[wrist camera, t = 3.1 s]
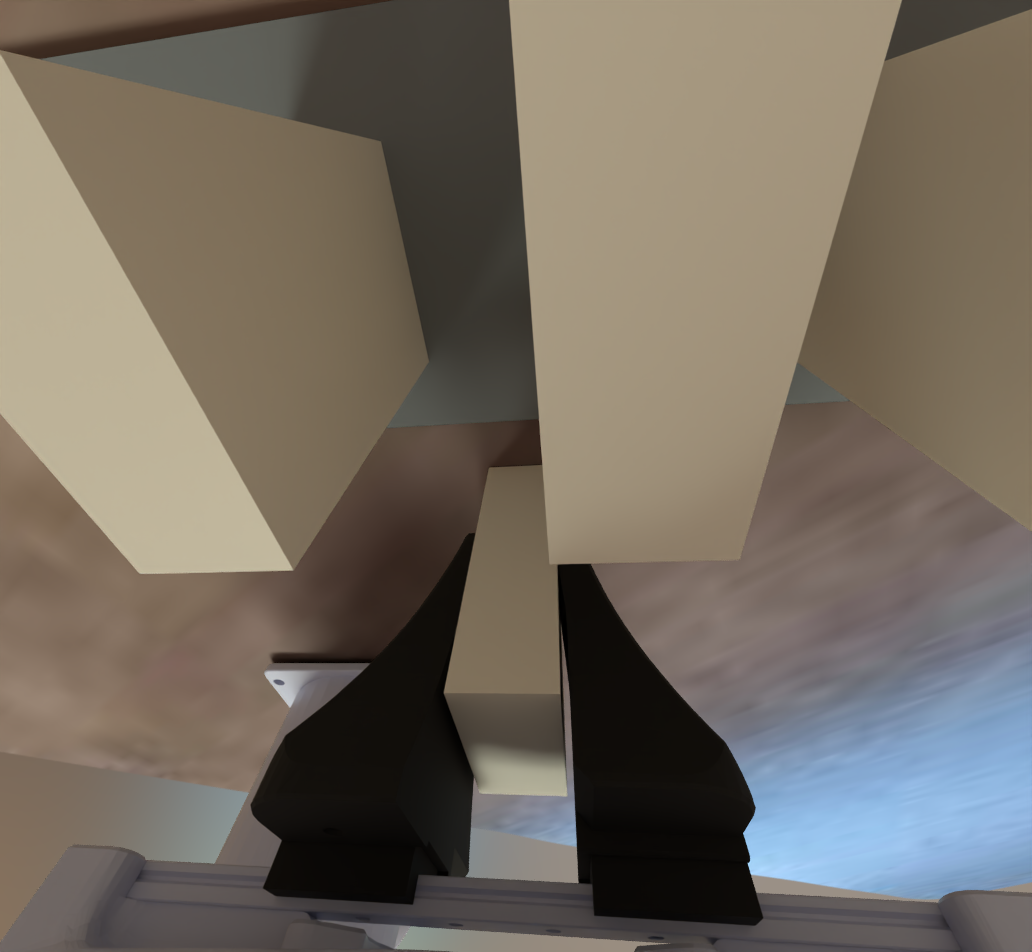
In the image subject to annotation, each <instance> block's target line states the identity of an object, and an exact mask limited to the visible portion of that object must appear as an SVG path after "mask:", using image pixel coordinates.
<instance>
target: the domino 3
mask: <svg viewBox="0 0 1032 952" xmlns="http://www.w3.org/2000/svg"><path fill="white" fill-rule="evenodd" d="M901 2H902V0H509V7H510V21H511V35H512V49H513V63H514V77H515V91H516V105H517V119H518V132H519V146H520V160H521V174H522V188H523V202H524V216H525V230H526V244H527V258H528V272H529V286H530V299H531V313H532V327H533V341H534V355H535V369H536V383H537V397H538V411H539V425H540V439H541V453H542V466H543V480H544V494H545V508H546V522H547V536H548V550H549V564H591V563H634V562H676V561H719V560H740V558H741V554H742V551H743V547H744V544H745V540H746V537H747V533H748V530H749V526H750V523H751V520H752V516H753V513H754V509H755V506H756V502H757V499H758V495H759V492H760V489H761V485H762V482H763V478H764V475H765V471H766V468H767V464H768V461H769V457H770V454H771V451H772V447H773V444H774V440H775V437H776V433H777V430H778V426H779V423H780V419H781V416H782V413H783V409H784V406H785V402H786V399H787V395H788V392H789V388H790V385H791V381H792V378H793V375H794V371H795V368H796V364H797V361H798V357H799V354H800V350H801V347H802V344H803V340H804V337H805V333H806V330H807V326H808V323H809V319H810V316H811V312H812V309H813V306H814V302H815V299H816V295H817V292H818V288H819V285H820V281H821V278H822V274H823V271H824V268H825V264H826V261H827V257H828V254H829V250H830V247H831V243H832V240H833V236H834V233H835V230H836V226H837V223H838V219H839V216H840V212H841V209H842V205H843V202H844V199H845V195H846V192H847V188H848V185H849V181H850V178H851V174H852V171H853V167H854V164H855V161H856V157H857V154H858V150H859V147H860V143H861V140H862V136H863V133H864V129H865V126H866V123H867V119H868V116H869V112H870V109H871V105H872V102H873V98H874V95H875V91H876V88H877V85H878V81H879V78H880V74H881V71H882V67H883V64H884V60H885V57H886V53H887V50H888V47H889V43H890V40H891V36H892V33H893V29H894V26H895V22H896V19H897V16H898V12H899V9H900V5H901Z"/></svg>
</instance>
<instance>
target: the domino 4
mask: <svg viewBox="0 0 1032 952" xmlns="http://www.w3.org/2000/svg"><path fill="white" fill-rule="evenodd" d="M797 363H799V364H800V365H802V366H803V367H804V368H806V369H807V370H808V371H810V372H811V373H813V374H814V375H815V376H817V377H818V378H820V379H821V380H822V381H824V382H825V383H826V384H828V385H829V386H831V387H832V388H833V389H835V390H836V391H838V392H839V393H840V394H842V395H843V396H844V397H846V398H847V399H849V400H850V401H851V402H853V403H854V404H856V405H857V406H858V407H860V408H861V409H862V410H864V411H865V412H867V413H868V414H869V415H871V416H872V417H874V418H875V419H876V420H878V421H879V422H880V423H882V424H883V425H885V426H886V427H887V428H889V429H890V430H892V431H893V432H894V433H896V434H897V435H898V436H900V437H901V438H903V439H904V440H905V441H907V442H908V443H910V444H911V445H912V446H914V447H915V448H916V449H918V450H919V451H921V452H922V453H923V454H925V455H926V456H928V457H929V458H930V459H932V460H933V461H934V462H936V463H937V464H939V465H940V466H941V467H943V468H944V469H946V470H947V471H948V472H950V473H951V474H952V475H954V476H955V477H957V478H958V479H959V480H961V481H962V482H964V483H965V484H966V485H968V486H969V487H970V488H972V489H973V490H975V491H976V492H977V493H979V494H980V495H982V496H983V497H984V498H986V499H987V500H988V501H990V502H991V503H993V504H994V505H995V506H997V507H998V508H1000V509H1001V510H1002V511H1004V512H1005V513H1006V514H1008V515H1009V516H1011V517H1012V518H1013V519H1015V520H1016V521H1018V522H1019V523H1020V524H1022V525H1023V526H1024V527H1026V528H1027V529H1029V530H1030V531H1031V532H1032V9H1030V10H1027V11H1025V12H1022V13H1019V14H1016V15H1013V16H1011V17H1008V18H1005V19H1002V20H999V21H996V22H994V23H991V24H988V25H985V26H982V27H979V28H977V29H974V30H971V31H968V32H965V33H963V34H960V35H957V36H954V37H951V38H948V39H946V40H943V41H940V42H937V43H934V44H932V45H929V46H926V47H923V48H920V49H917V50H915V51H912V52H909V53H906V54H903V55H900V56H898V57H895V58H892V59H889V60H886V61H884V64H883V67H882V71H881V74H880V78H879V81H878V85H877V88H876V91H875V95H874V98H873V102H872V105H871V109H870V112H869V116H868V119H867V123H866V126H865V129H864V133H863V136H862V140H861V143H860V147H859V150H858V154H857V157H856V161H855V164H854V167H853V171H852V174H851V178H850V181H849V185H848V188H847V192H846V195H845V199H844V202H843V205H842V209H841V212H840V216H839V219H838V223H837V226H836V230H835V233H834V236H833V240H832V243H831V247H830V250H829V254H828V257H827V261H826V264H825V268H824V271H823V274H822V278H821V281H820V285H819V288H818V292H817V295H816V299H815V302H814V306H813V309H812V312H811V316H810V319H809V323H808V326H807V330H806V333H805V337H804V340H803V344H802V347H801V350H800V354H799V357H798V361H797Z"/></svg>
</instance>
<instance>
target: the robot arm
mask: <svg viewBox="0 0 1032 952" xmlns="http://www.w3.org/2000/svg"><path fill="white" fill-rule="evenodd" d="M475 534H476V533H469V534H468V535H467V536H466V537H465V539H464V541H463V543H462V545H461V546H460V548H459V550H458V552H457V553H456V555H455V557H454V558H453V560H452V562H451V563H450V565H449V567H448V568H447V570H446V571H445V573H444V574H443V576H442V577H441V579H440V580H439V582H438V583H437V585H436V586H435V588H434V589H433V591H432V592H431V593H430V595H429V596H428V597H427V599H426V600H425V601H424V603H423V604H422V605H421V607H420V608H419V609H418V611H417V612H416V613H415V615H414V616H413V617H412V618H411V620H410V621H409V622H408V623H407V624H406V626H405V627H404V628H403V629H402V630H401V631H400V633H399V634H398V635H397V636H396V637H395V638H394V639H393V640H392V642H391V643H390V644H389V645H388V646H387V647H386V648H385V649H384V650H383V651H382V652H381V653H380V654H379V655H378V656H377V657H376V658H375V659H374V660H373V661H372V662H371V663H272V664H270V665H268V667H267V669H266V670H265V672H264V674H265V676H266V678H267V679H268V680H269V681H270V683H271V684H272V685H273V687H274V688H275V689H276V690H277V692H278V693H279V694H280V696H281V697H282V698H283V699H284V701H285V702H286V703H287V704H288V706H289V707H290V710H289V712H288V714H287V716H286V718H285V720H284V722H283V724H282V726H281V728H280V730H279V732H278V734H277V736H276V738H275V741H274V743H273V745H272V747H271V749H270V751H269V753H268V755H267V757H266V759H265V761H264V763H263V765H262V767H261V769H260V771H259V773H258V776H257V778H256V780H255V782H254V784H253V786H252V788H251V790H250V792H249V794H248V796H247V798H246V800H245V802H244V805H243V807H242V808H241V811H240V813H239V815H238V817H237V819H236V821H235V823H234V825H233V827H232V829H231V831H230V834H229V836H228V837H227V839H226V842H225V844H224V846H223V848H222V850H221V852H220V854H219V856H218V858H217V860H216V862H215V864H209V863H191V862H172V861H153V860H145V857H143V856H142V855H140V854H139V853H137V852H135V851H132V850H129V849H125V848H121V847H113V846H94V845H73V846H70V847H68V848H67V850H66V851H65V853H64V854H63V855H62V857H61V858H60V860H59V861H58V862H57V864H56V865H55V867H54V868H53V869H52V871H51V872H50V874H49V875H48V876H47V878H46V879H45V881H44V882H43V883H42V885H41V886H40V887H39V889H38V890H37V892H36V893H35V894H34V896H33V897H32V899H31V900H30V902H29V903H28V904H27V906H26V907H25V908H24V910H23V911H22V913H21V914H20V915H19V917H18V918H17V920H16V921H15V923H14V924H13V925H12V926H11V928H10V929H9V931H8V932H7V933H6V935H5V936H4V938H3V939H2V940H1V942H0V952H447V951H428V950H400V949H399V950H397V949H396V948H397V947H398V946H399V944H400V942H401V941H402V940H403V938H404V937H405V935H406V933H407V931H408V930H409V928H410V926H417V927H431V928H446V929H461V930H476V931H491V932H507V933H521V934H537V935H551V936H566V937H581V938H596V939H610V940H625V941H640V942H641V941H642V942H655V943H670V944H660V945H647V946H638V947H637V948H636V950H635V951H634V952H1032V893H1023V892H1004V891H984V890H964V891H957V892H953V893H949V894H947V895H945V896H943V897H942V898H941V899H940V900H939V902H938V903H934V902H915V901H896V900H878V899H859V898H841V897H822V896H803V895H784V894H765V893H756V891H755V887H754V884H753V880H752V878H751V874H750V870H749V867H748V863H749V862H750V855H749V851H748V848H747V845H746V842H745V838H744V835H743V832H744V831H745V829H746V828H747V826H748V824H749V823H750V821H751V819H752V818H753V816H754V813H755V808H756V807H755V805H754V802H753V798H752V795H751V793H750V790H749V788H748V785H747V783H746V781H745V779H744V776H743V774H742V772H741V770H740V768H739V766H738V764H737V762H736V760H735V759H734V757H733V755H732V753H731V751H730V750H729V748H728V746H727V744H726V743H725V742H724V741H723V740H722V739H721V738H720V737H719V736H718V735H717V734H716V733H715V732H714V731H713V730H712V729H711V728H710V727H709V726H708V725H707V724H706V723H705V722H704V721H703V719H702V718H701V717H700V716H699V715H698V714H697V713H696V712H695V711H694V710H693V709H692V708H691V707H690V706H689V705H688V704H687V703H686V701H685V700H684V699H683V698H682V697H681V696H680V695H679V694H678V693H677V692H676V690H675V689H674V688H673V687H672V686H671V685H670V683H669V682H668V681H667V680H666V679H665V677H664V676H663V675H662V674H661V673H660V671H659V670H658V669H657V668H656V666H655V665H654V664H653V663H652V662H651V660H650V659H649V658H648V657H647V655H646V654H645V653H644V651H643V650H642V649H641V647H640V646H639V645H638V643H637V642H636V641H635V639H634V638H633V636H632V635H631V633H630V632H629V631H628V629H627V628H626V626H625V625H624V623H623V622H622V620H621V618H620V617H619V615H618V614H617V612H616V610H615V609H614V607H613V605H612V604H611V602H610V600H609V599H608V597H607V595H606V593H605V592H604V590H603V588H602V586H601V584H600V582H599V580H598V578H597V576H596V574H595V572H594V570H593V568H592V566H591V564H558V580H559V598H560V615H561V627H562V635H563V642H564V650H565V658H566V665H567V673H568V681H569V691H570V706H571V728H572V750H573V771H574V793H575V815H576V837H577V859H578V881H579V883H562V882H544V881H543V882H542V881H525V880H524V881H523V880H505V879H488V878H469V877H465V876H466V875H467V874H468V872H469V849H470V831H471V812H472V796H473V781H474V775H473V772H472V769H471V767H470V764H469V761H468V758H467V756H466V753H465V750H464V747H463V745H462V742H461V739H460V736H459V734H458V731H457V728H456V725H455V723H454V720H453V717H452V714H451V712H450V709H449V706H448V703H447V701H446V698H445V695H444V689H445V684H446V679H447V674H448V669H449V664H450V659H451V654H452V649H453V644H454V639H455V634H456V629H457V624H458V619H459V614H460V609H461V604H462V599H463V594H464V589H465V584H466V579H467V574H468V569H469V564H470V559H471V554H472V549H473V544H474V539H475ZM448 952H449V951H448Z"/></svg>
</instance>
